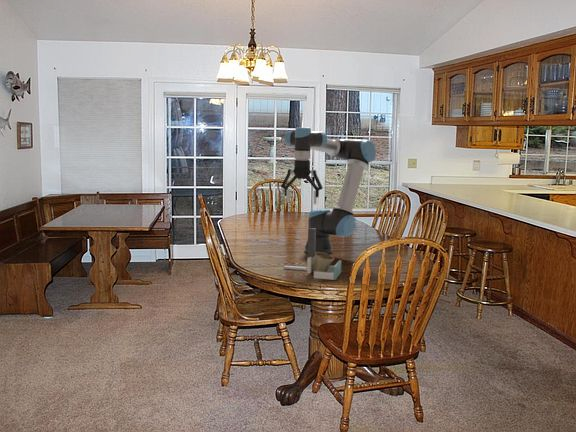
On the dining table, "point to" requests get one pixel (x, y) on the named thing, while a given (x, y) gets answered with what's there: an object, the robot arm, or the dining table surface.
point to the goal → (329, 272)
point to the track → (295, 268)
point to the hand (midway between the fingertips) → (301, 203)
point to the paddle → (311, 249)
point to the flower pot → (322, 261)
